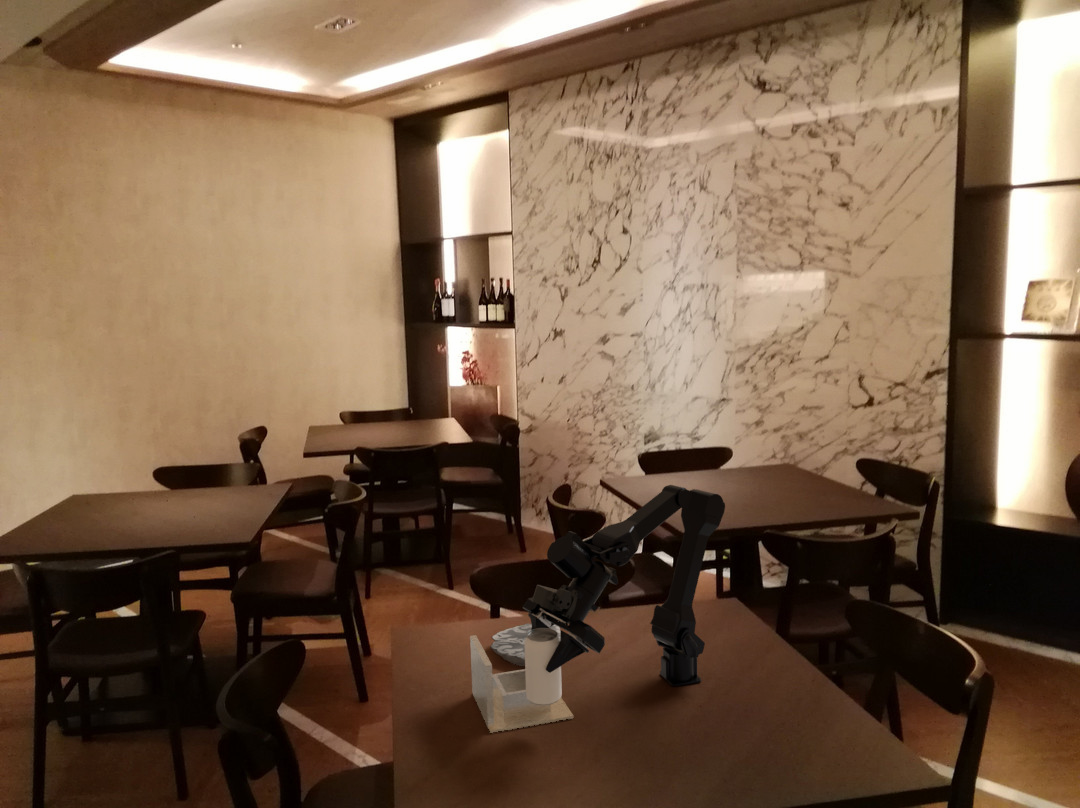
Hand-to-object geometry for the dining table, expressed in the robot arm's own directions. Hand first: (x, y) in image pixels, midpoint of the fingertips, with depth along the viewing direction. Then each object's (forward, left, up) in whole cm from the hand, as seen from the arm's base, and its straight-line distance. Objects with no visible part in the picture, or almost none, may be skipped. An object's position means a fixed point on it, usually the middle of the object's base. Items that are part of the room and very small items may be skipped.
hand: (536, 664), depth 143 cm
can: (-1, -1, -7) cm, 7 cm away
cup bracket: (0, -11, -13) cm, 17 cm away
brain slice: (-8, -34, -14) cm, 38 cm away
